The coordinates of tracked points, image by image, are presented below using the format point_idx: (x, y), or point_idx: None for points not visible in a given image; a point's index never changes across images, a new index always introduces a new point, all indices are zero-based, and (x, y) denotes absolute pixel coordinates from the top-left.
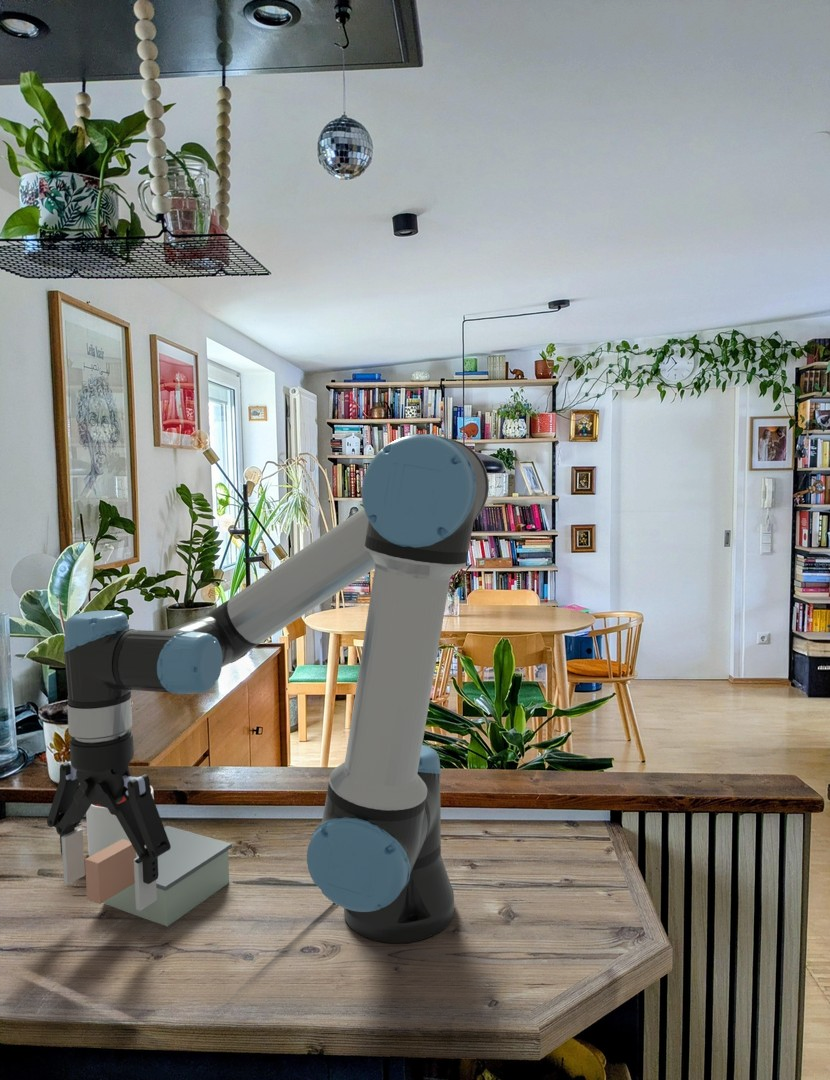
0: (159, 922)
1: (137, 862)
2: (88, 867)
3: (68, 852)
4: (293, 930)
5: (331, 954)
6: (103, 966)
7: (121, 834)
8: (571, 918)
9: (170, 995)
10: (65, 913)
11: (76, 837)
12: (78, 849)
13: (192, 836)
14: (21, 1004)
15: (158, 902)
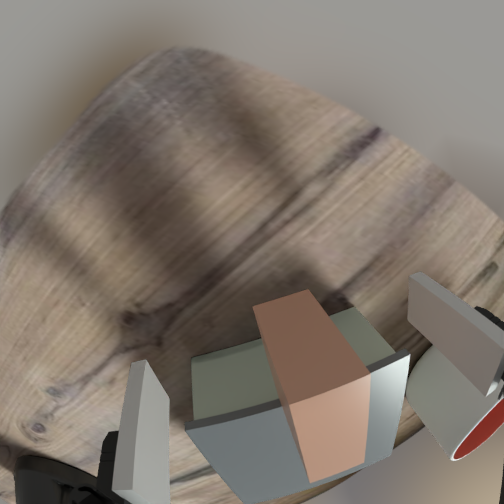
0: (211, 361)
1: (84, 486)
2: (337, 361)
3: (466, 327)
4: (82, 441)
5: (23, 430)
6: (173, 232)
7: (446, 394)
8: (15, 497)
9: (21, 281)
10: (398, 251)
11: (481, 371)
12: (456, 351)
13: (324, 479)
14: (182, 64)
15: (215, 390)
